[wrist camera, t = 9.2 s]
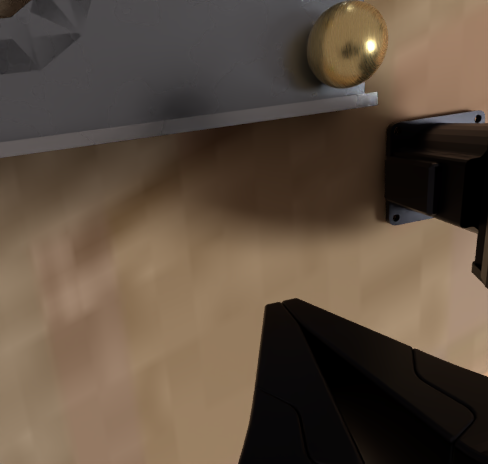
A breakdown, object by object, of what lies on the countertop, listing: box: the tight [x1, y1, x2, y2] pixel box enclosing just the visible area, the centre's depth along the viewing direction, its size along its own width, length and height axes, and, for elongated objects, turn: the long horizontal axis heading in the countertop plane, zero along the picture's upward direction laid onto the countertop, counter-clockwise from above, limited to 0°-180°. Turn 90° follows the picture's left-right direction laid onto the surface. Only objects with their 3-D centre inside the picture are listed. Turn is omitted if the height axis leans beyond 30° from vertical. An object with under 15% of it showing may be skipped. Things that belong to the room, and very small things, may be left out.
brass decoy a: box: [307, 0, 388, 89], centre depth 15 cm, size 3×3×3 cm
